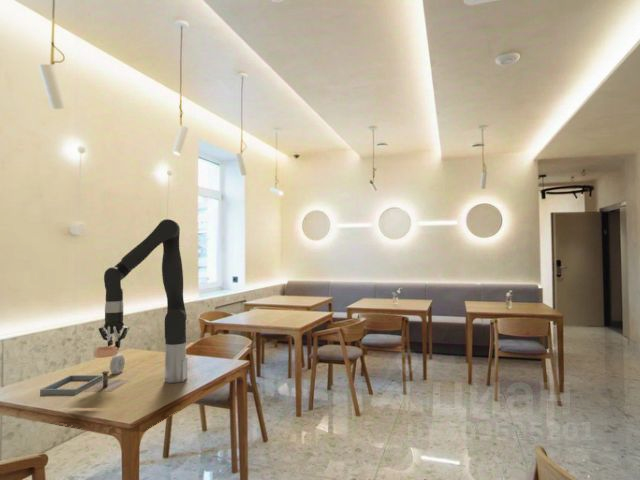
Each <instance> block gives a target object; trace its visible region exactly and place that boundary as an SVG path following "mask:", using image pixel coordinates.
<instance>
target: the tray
mask: <svg viewBox="0 0 640 480" xmlns="http://www.w3.org/2000/svg"><path fill="white" fill-rule="evenodd" d="M73 381H88V382H86V383H84V384H82V385H80V386H78V387H76V388H61V387H63V386H65V385H67V384H70V383H71V382H73ZM101 381H103V374H98V375H96V374H93V375H92V374H89V375H88V374H85V375H83V374H82V375H78V374H74V375H73V374H70V375H68V376H65V377H64V378H62V379H60V380H57V381H55V382H53V383H51V384H49V385H47V386H45V387H43V388H40V390H39V397H40V398H41V397H42V396H44V395H45V396H47V395H49V396H51V395H59V396H60V395H67V396H68V395H71V396H72V395H73V396H74V395H78V394H79V393H81V392H84V391H85V390H87V389H89V388H91V387H92V386H94V385H96V384H98V383H100V382H101Z"/></svg>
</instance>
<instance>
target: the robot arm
mask: <svg viewBox="0 0 640 480" xmlns="http://www.w3.org/2000/svg"><path fill="white" fill-rule="evenodd" d="M180 231H181V230H180V225H179V223H178V222H177V221H175V220H173V219H171V218H166V219H163V220H160V222H159V223H158V225H157V226H156V227H155V228H154V230H153V231H151V233H149V235H148V236H147V237H146V238H144V239H143V240H142V241H141V242H140V243H139V244H137V245H136V246H135V247H134V248H132V249H131V250H129V252H127V253H126V254H125V255H124V256H123V257H122V258H121V259H120V261H119V262H118V263H117V264H115V265H114V266H113V267H112V266H111V267H109V268H107V269H106V270H105V271H104V274H103V281H104V282H103V283H104V289H105V304H104V322H105V323H104V325H103V326H102V327H99V328H98V331H99V334H100V335H101V338H102V340H103V341H107V346H110V345H112V344H115V346H116V347H117V349H120V348H121V340H125V338H126V336H127V334H128V332H129V330H130V327H129V326H125V324H124V292H123V288H122V283H121V281H122V280H124V279H125V278H126V277H127V276H128V275H129V274H130V273H131V272H132V270H134V269H135V268H136V267H138V266H139V265H140V264H142V262H144V261H145V260H146V259H147V258H148V256H150V254H152V252H153V251H154V250H155V249H157V248H158V247H159V246H160V245H161V244H162V246H163V247H162V249H163V252H162V253H163V254H162V260H161V273H162V274H161V277H162V283H163V288H164V291H165V295H166V301H167V305H166V306H167V308H166V310H167V313H166V314H165V316H164V341H165V342H164V345H165V346H164V347H165V349H164V351H165V353H164V382H165V383H169V384H171V383H173V384H174V383H181V382H184V381H186V380H187V379H188V357H187V333H186V332H187V331H186V330H187V329H186V328H187V324H186V322H187V318H188V317H187V316H188V315H187V312H186V305H185V301H184V272H183V271H184V270H183V262H182V256H181V251H180V235H181V234H180ZM121 331H122V332H121ZM113 337H114V338H115V342H114V340H113ZM113 342H114V343H113Z"/></svg>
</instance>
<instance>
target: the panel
mask: <svg viewBox="0 0 640 480" xmlns="http://www.w3.org/2000/svg"><path fill="white" fill-rule="evenodd" d="M108 374H110V372H109V370H104V371H102V372H101V375H103V380H101V381H99V382H98V383H96V384H94V385H92V386H90V387H89V388H87V389H85V390H83V393H85V392H86V393H89V392H90V393H92V392H93V393H99V392H103V393H105V392H110V393H111V392H113V391H115V390H117V389H118V388H120V387H122V386H124V384H126V383H128V382H129V381H130V379H108V377H109V375H108Z"/></svg>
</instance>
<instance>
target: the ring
mask: <svg viewBox="0 0 640 480" xmlns="http://www.w3.org/2000/svg"><path fill="white" fill-rule="evenodd" d="M119 349H120V348H119ZM119 349H117V347H116V346H115V343H113V344H112V345H110V346H108V345H107V346H100V347H96V348H94V350H93V357H94V358H96V359H98V358H99V359H100V358H101V359H102V358H111V357H114V356H115V355H117V354H118V351H119Z"/></svg>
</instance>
